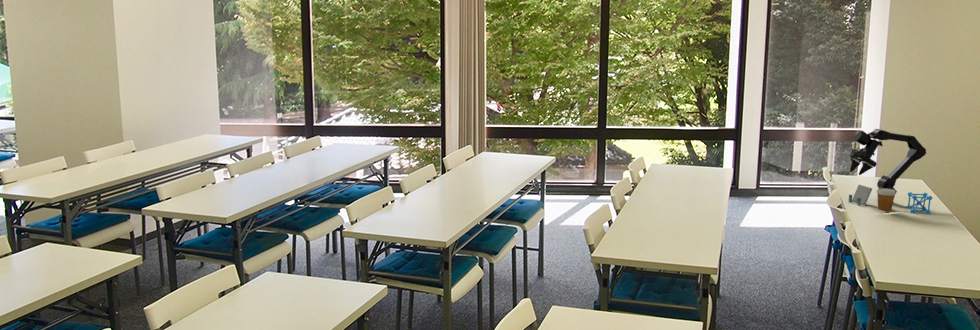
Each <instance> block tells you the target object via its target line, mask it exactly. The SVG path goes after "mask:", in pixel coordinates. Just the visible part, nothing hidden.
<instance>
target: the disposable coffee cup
mask: <svg viewBox="0 0 980 330" xmlns="http://www.w3.org/2000/svg"><path fill="white" fill-rule="evenodd" d="M895 190H896V189H895ZM895 190H893V189H886V188H880V189H879V188H878V189H877V190H876V194H877V210H879V211H883V213H886V214H887V213H888V214H889V213H890V212H891V211H892V209H893V208H892V207H893V206H894V203H893V202H894V201H895V196H896V194H897V192H895Z"/></svg>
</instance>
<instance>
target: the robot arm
mask: <svg viewBox="0 0 980 330" xmlns="http://www.w3.org/2000/svg"><path fill="white" fill-rule="evenodd" d="M889 140H893V141H899V142H903V143H904V142H906V145H907V147H908V151H907V154H906V157H904V159H903V160H902V161H901V162H900V163H898V165H897V166H896V167H895V168H894V169H893V170H892V171H891V172H890V173H889V174H888V175H884V174H883V175H882V176H881V177H880V178H879V179H877V181H878V182H877V183H876V184H877V185H876V186H877V188H878V189H880V188H886V189H893V190H895V192H896V193H897V192H898V191H897V189H896V188H895V186H896V183H897V180H898V179H899V178H900V177H901V176H902V175H904V173H905V172H906V171H907V169H909V168H910V167H911V165H912V164H913V163H915V162H916V161H919V160H920V159H922V158H923V157H924V156H926V154H927V149H926V148H925V147H924V146H923V145H922V144H921V142H919V141H918V139H917V138H916V136H913V135H910V134H908V135H907V134H900V133H894V132H889V131H886V130H883V129H879V128H874V130H872V131H871V132H869V133H866V132H865V131H864V130H859V131H858V132H857V133H856V134H855V135H854V137H853V141H855V142H856V143H858V144H859V145H861V146H864V147H862V148H857V149H856V148H851V151H850V155H849V157H848V158H849V160H850V162H851V164H850V168H849V172H850V173H852V172H853V171H855V170H856V169H857V168H858V167H859V166H860V165H862V166H861V168H860V169H859V171H858V176H861V175H862V174H864V173H866V172H868V171H869V170H872V169H873V168H876V166H877V165H878V163H877V161H875V160H873V159H872V157H873V156H875V155H876V154H875V153H876V152H875V151H877V148H878V147H879V146H880V147H883V142H882V141H889ZM893 204H895V202H894V201H893Z"/></svg>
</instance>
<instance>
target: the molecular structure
mask: <svg viewBox="0 0 980 330" xmlns="http://www.w3.org/2000/svg"><path fill="white" fill-rule="evenodd" d="M907 196H908V203H907V205H906V208H907V209H909V210H910V213H911V214H914V213H916V212H917V213H926V214H927V215H930V214H931V213H932V210H931V209H930V208H931V201H932V200H933V196H932V195H928V193H927V192H923V193H912V192H911V191H909V192H908V193H907ZM911 199H912V200H913V202H912V204H911ZM919 199H920V200H919ZM926 201H928V205H927V207H928V208H927V207H926ZM922 203H923V204H922ZM918 206H920V207H918ZM917 209H918V210H917Z"/></svg>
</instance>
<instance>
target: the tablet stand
mask: <svg viewBox="0 0 980 330" xmlns="http://www.w3.org/2000/svg"><path fill="white" fill-rule="evenodd" d="M852 199H853V194H848V201H847V202H848V203H849V204H850V203H853V202H852ZM860 202H861V198H860V197H858V198H857V203H856V206H861V204H860ZM863 206H864V207H868V206H869V205H868V204H867V203H866V204H864V205H863Z"/></svg>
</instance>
